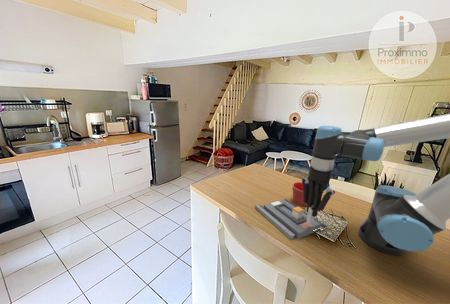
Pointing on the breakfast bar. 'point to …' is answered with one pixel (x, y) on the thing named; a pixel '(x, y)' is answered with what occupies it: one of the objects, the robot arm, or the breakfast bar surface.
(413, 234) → the robot arm
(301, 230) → the breaker panel
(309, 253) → the breakfast bar surface
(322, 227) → the long gray bar
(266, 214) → the grey long bar
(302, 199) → the flower pot
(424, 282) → the breakfast bar surface
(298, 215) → the lever
